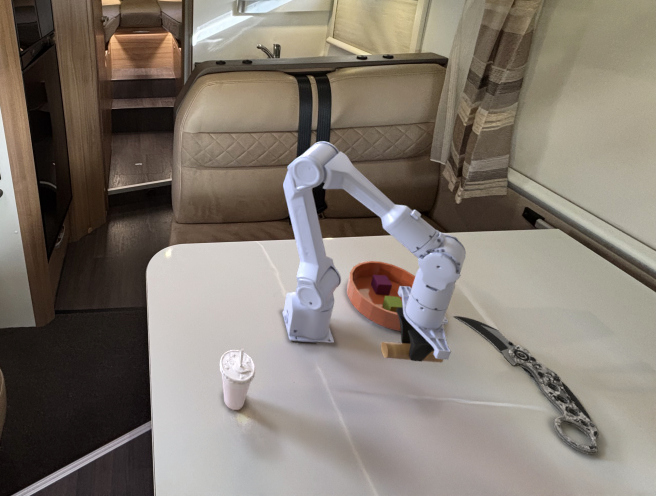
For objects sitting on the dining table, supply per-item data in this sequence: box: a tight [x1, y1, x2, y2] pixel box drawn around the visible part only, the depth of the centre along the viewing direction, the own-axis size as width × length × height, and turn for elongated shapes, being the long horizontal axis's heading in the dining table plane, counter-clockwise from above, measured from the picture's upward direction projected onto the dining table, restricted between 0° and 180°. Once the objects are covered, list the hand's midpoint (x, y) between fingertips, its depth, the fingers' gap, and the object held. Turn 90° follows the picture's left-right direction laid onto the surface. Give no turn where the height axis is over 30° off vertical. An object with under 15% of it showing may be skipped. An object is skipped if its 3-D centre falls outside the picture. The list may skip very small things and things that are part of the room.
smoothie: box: [219, 347, 256, 411], centre depth 78 cm, size 6×6×14 cm
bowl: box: [346, 260, 416, 332], centre depth 102 cm, size 17×17×5 cm
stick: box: [380, 341, 444, 364], centre depth 81 cm, size 10×3×3 cm, turn 84°
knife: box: [453, 315, 600, 455], centre depth 85 cm, size 28×2×10 cm
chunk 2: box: [382, 296, 403, 313], centre depth 99 cm, size 3×3×3 cm
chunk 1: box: [371, 275, 392, 295], centre depth 105 cm, size 3×3×3 cm
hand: (411, 351), depth 81 cm, fingers closed on stick, 3 cm apart
